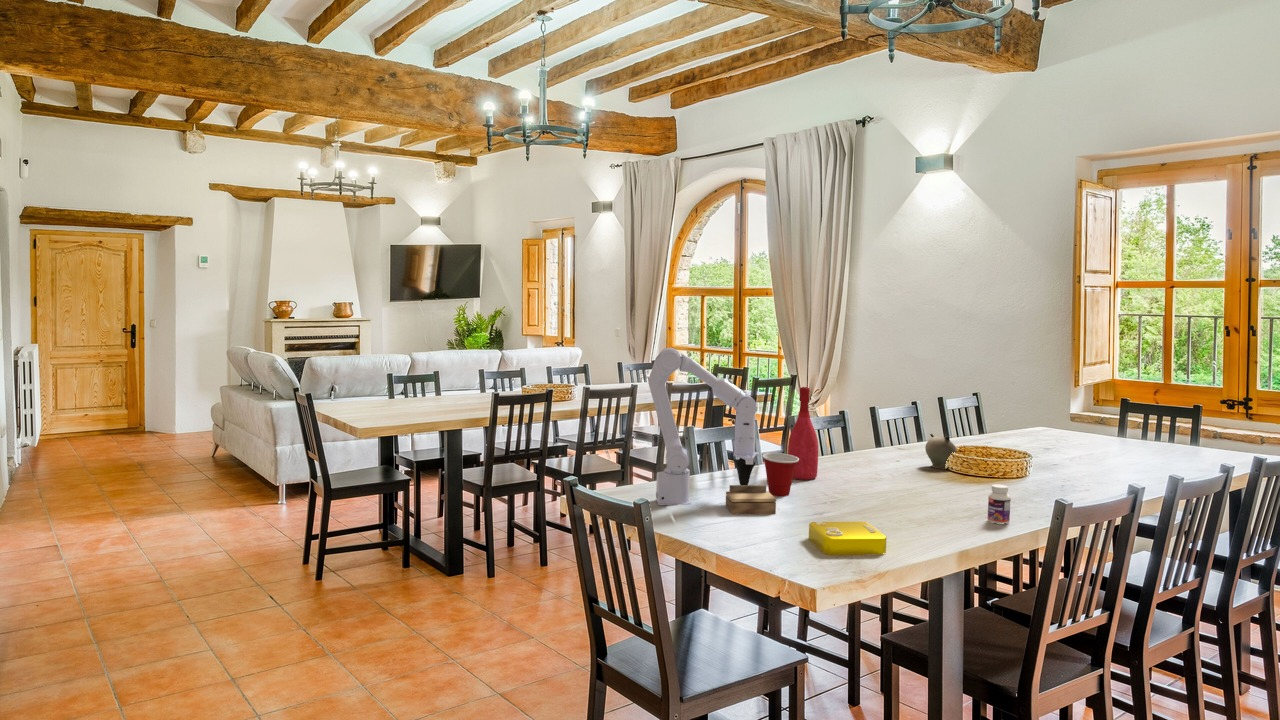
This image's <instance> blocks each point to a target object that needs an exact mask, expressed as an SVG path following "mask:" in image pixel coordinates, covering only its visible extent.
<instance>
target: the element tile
mask: <svg viewBox="0 0 1280 720" xmlns="http://www.w3.org/2000/svg"><path fill="white" fill-rule="evenodd" d="M808 540H809V541H810V543H811V544H813V545H814V546H815V547H816V548H817V550H819V551H820V552H821V553H822V554H824V555H827V556H868V555H867V554H883V553H887V536H886V535H885V534H883V533H882V532H881V531H880V530H879V529H877V528H876V527H874V526H873V525H871V524H870V523H868V522H866V521H813V522H812V521H811V522H809V525H808ZM883 555H884V554H883Z"/></svg>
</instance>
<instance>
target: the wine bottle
mask: <svg viewBox="0 0 1280 720" xmlns="http://www.w3.org/2000/svg"><path fill="white" fill-rule="evenodd" d="M810 390H811V389H810V387H807V386H802V387H800V388H799V398H798V399H799V402H800V404H799V412H798V415H797V418H796V421H795V423H794V425H793V428H792V429H791V431H790V434H789V437H788V443H787V444H788V445H787V454H788V455H792V456H795V457H797V458H799V461H798V462H797V464H796V467H795V470H794V475H793V479H794V480H801V481H811V480H814V479H816V478H817V477H818V471H819V470H818V465H819V439H818V436H817V433H816V430H815V426H814V425H813V421H812V419H811V414H810V411H809V410H810V409H809V402H810V392H811V391H810ZM793 479H792V480H793Z"/></svg>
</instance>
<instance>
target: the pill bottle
mask: <svg viewBox="0 0 1280 720" xmlns="http://www.w3.org/2000/svg"><path fill="white" fill-rule="evenodd" d="M1008 491H1009V486H1008V485H1006V484H991V492H990V493H989V494H988V503H987V521H988V522H989V521H990V522H989V523H991V522H993V523H992V524H994V522H995V523H1008V524H1009V523H1010V516H1011V500H1012V499H1011V495H1010V494H1008V493H1009V492H1008Z"/></svg>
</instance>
